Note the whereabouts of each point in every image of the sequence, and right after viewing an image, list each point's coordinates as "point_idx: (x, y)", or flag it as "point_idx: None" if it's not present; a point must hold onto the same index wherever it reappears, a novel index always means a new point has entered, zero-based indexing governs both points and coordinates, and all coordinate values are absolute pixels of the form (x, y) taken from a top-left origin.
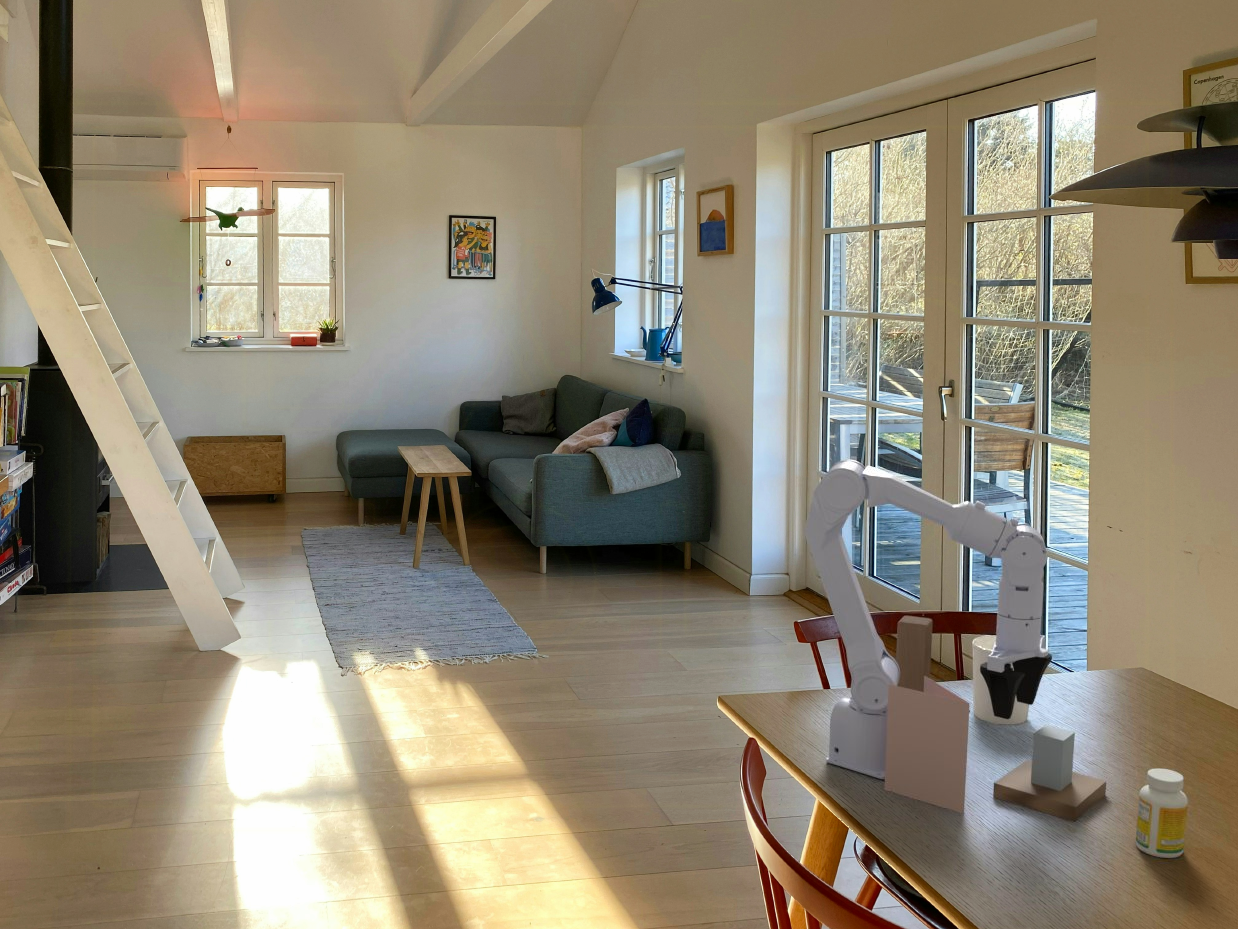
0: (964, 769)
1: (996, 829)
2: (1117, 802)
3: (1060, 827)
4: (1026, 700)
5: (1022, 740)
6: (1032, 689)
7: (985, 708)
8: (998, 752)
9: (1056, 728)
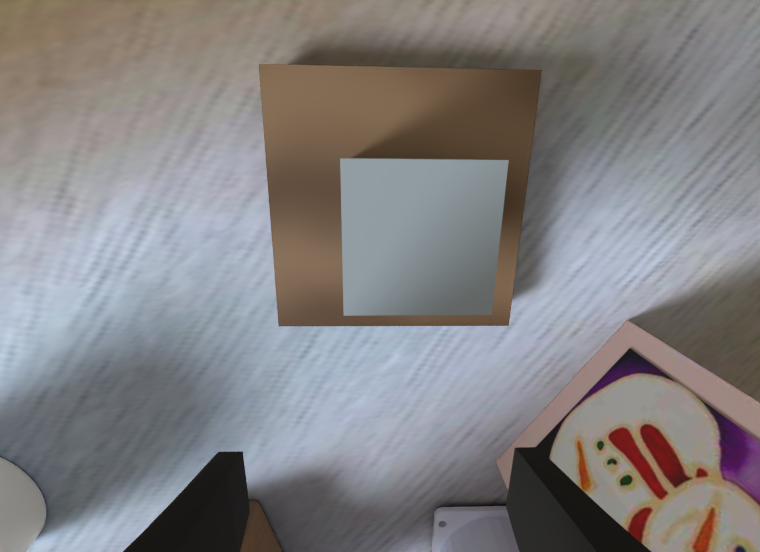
0: (727, 388)
1: (677, 227)
2: (295, 23)
3: (579, 100)
4: (238, 490)
5: (81, 401)
6: (198, 537)
7: (19, 543)
8: (212, 409)
9: (349, 257)
